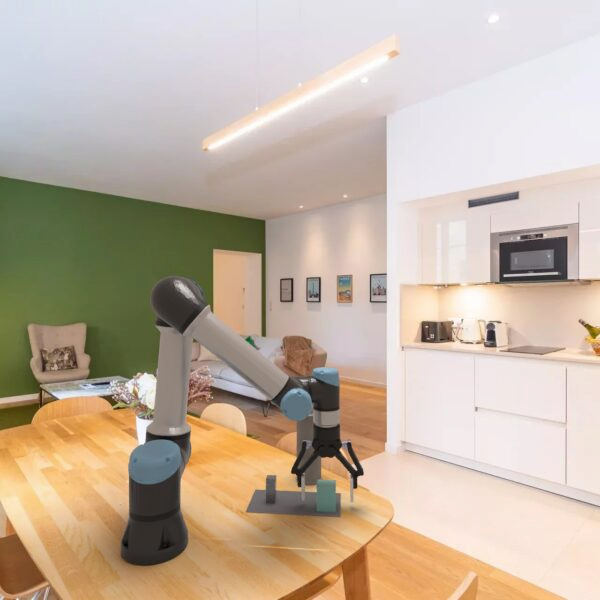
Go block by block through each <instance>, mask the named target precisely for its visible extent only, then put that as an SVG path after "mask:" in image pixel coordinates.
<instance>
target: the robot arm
mask: <svg viewBox="0 0 600 600" xmlns="http://www.w3.org/2000/svg"><path fill="white" fill-rule="evenodd" d="M149 298H150V299H149V302H150V307H151V310H152V311H153V312H154V314H155V328H156V329H157V330H158V331H159V332H160V337H159V351H158V360H157V361H158V362H157V371H156V383H155V393H154V395H155V397H154V407H153V418H152V422H150V423H149V424H148V425H147V426H146V429H145V439H144V440H145V441H144V443H143V444H139V445H137V446H136V447H135V448H134V449H132V451H131V453H130V455H129V461H128V465H127V467H128V468H127V471H128V516H129V517H128V519H127V523H126V524H125V525H126V526H125V529H124V531H123V535H122V538H121V541H120V554H121V557H122V558H123V559H124V560H125V561H126V562H128V563H130V564H132V565H133V564H135V565H142V566H145V565H155V564H159V563H164V562H166V561H169V560H171V559H173V558H175V557H176V556H178V555H179V554H181V553H182V552H183V551H184V550H185V549H186V547H188V546H187V545H188V543H189V531H188V528H187V527H188V526H187V525H186V524H187V523H186V521H185V519H184V516H183V512H182V510H181V508H182V507H181V498H182V497H181V496H182V495H181V490H182V489H181V480H182V477H183V474H184V471H185V469H186V467H187V464H188V463H189V460H190V458H191V454H192V443H191V434H192V433H191V432H192V431H191V430H192V427H191V425H190V424H189V423H188V422H187V414H188V413H187V412H188V402H189V390H190V379H191V378H190V377H191V368H192V367H191V366H192V357H193V356H192V355H193V343H194V340H195V341H197V342H198V344H200V345H201V346H202V347H204V349H206V350H208V351H209V352H210V353H211V354H212V355H214V356H215V357H216V358H218V360H220V361H221V362H222V363H223V364H225V365H226V366H227V367H228V368H229V369H231V370H232V371H233V372H234V373H235V374H237V375H238V376H239V377H241V378H242V379H243V380H244V381H245V382H247V383H248V384H250V386H252V387H253V388H254V389H255V390H257V392H259V393H260V394H261V395H263V396H264V398H266V399H268V400H269V401H270V403H271V404H272V405H275V406H276V407H277V408H278V409H279V410H280V411H281V413H282V415H283V416H284V417H286V419H288V420H289V421H294V422H297V421H300V420H303V419H305V418H306V417H307V416H308V415H309V414H310V412H311V409H312V403H313V422H314V423H315V424H314V425H313V441H307V439H304V440H303V443H302V448H301V450H300V452H299V454H298V456H297V455H296V459H295V461H294V463H293V465H292V466H291V470H290V473H291V474H292V475H295V476H296V481H297V480H298V482H297V488H301V492H302V500H304V499H305V492H306V485H305V473H304V472H305V471H306V470H307V468H308V467H309V466H310V465H311V464H312V462H313V461H314V460H315V459H316V458H317V457H318V456H320V457H321V459H324V458H329V459H333V458H334V457H335V458H336V459H337V460H338V461H339V462H340V463H341V464H342V465H343V467H344V468H345V469H346V470H347V472H348V473H349V475H350V476H349V478H350V481H349V483H350V485H349V486H350V487H349V488H350V496H349V497H350V503H354V490H357V489H358V478H359V477H360V476H361V477H362V476H364V468H363V466H362V464H361V462H360V461H359V458H358V457H357V455H356V453H355V451H354V448H353V446H352V445H353V444H352V440H351V439H346V441H345V440H344V441H342V440H341V425H340V422H341V407H340V406H341V405H340V403H341V401H340V399H341V398H340V396H341V395H340V393H341V392H340V390H341V389H340V388H341V385H340V375H339V374H340V373H339V370H338V369H337V368H335V367H329V366H328V367H327V366H324V367H323V366H320V367H316V368H314V369H313V370H312V373H311V375H305V376H289V375H288V374H286V373H285V372H284V371H283V370H282V369H280V368H279V367H278V366H277V365H276V364H275V363H274V362H272V361H271V360H270V359H268V358H267V357H266V356H265V355H264V354H263V353H262V352H261V351H259V350H258V349H257V348H255V346H253V345H252V344H250V343H249V342H248V341H247V340H246V339H245V338H243V336H241V335H240V334H239V333H237V332H236V331H235V330H234V329H233V328H231V327H230V326H229V325H228V324H226V323H225V322H224V321H223V320H222V319H220V318H219V317H218V316H217V315H216V314H214V313H213V312H212V310H211V305H210V304H209V303H208V302H207V301H205V295H204V292H203V289H202V288H201V286H200V285H199V284H198V283H197V282H196V281H194V280H192V279H191V278H187V277H183V276H178V275H170V276H166V277H163V278H162V279H160V280H158V281H157V282H156V283H155V284H154V286H153V287H152V289H151V291H150V295H149ZM310 446H312V447H313V448H314V452H313V453H312V454H311V456H310V457H309V458H308V459H307V460H306V461H305V463H304V464H303V465H302V466H301V467H300V469H297V468H298V466H299V464H300V462H301V460H302V458H303V456H304V453H305V451H306V449H308V448H309V447H310ZM341 448H344V449H345V450H346V451H347V452H348V454H349V456H350V459H351V460H352V462H353V464H354V466H353V465H352V463H350V462H349V460H348V459H347V458H346V457H345V455H343V453H342V452H341V451H340V450H341ZM355 468H356V469H355Z"/></svg>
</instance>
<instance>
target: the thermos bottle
mask: <svg viewBox="0 0 600 600" xmlns="http://www.w3.org/2000/svg"><path fill="white" fill-rule="evenodd" d="M314 424H315V423H314V422H313V403H312V409H311V412H310V414H309V415H308V416H307V417H306V418H305V419H303V420H300V421H296V457H297V456H298V454H299V452H300V450H301V448H302V443H303V440H304V439H307V441H313V425H314ZM313 452H314V448H313V447H312V446H310V447H309V448H308V449H306V451H305V453H304V456H303V458H302V460H301V462H300V464H299V466H298V468H297V469H300V467H301V466H302V465H303V464H304V463H305V461H306V460H307V459H308V458H309V457H310V456H311V454H312V453H313ZM304 473H305V486H306V487H307V486H311V487H312V486H317V481H318V479H319V480H322V458H321V457H320V456H318V457H317V458H316V459H315V460H314V461H313V462H312V464H311V465H310V466H309V467H308V468H307V470H306V471H305V472H304ZM296 483H298V480H297V479H296Z"/></svg>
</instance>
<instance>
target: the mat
mask: <svg viewBox="0 0 600 600" xmlns="http://www.w3.org/2000/svg"><path fill="white" fill-rule="evenodd" d="M341 495H342V494H341V492H339V493H338V492H336V512H319V511H317V491H305V499H304V500H302V490H301V491H300V490H299V491H298V490H297V491H295V490H279V489H278V490H277V489H276V502H275V504H274V503H266V489H257V488H256V489H254V491H253V494H252V496H251V499H250V501H249V503H248V506H247V508H246V509H245V513H249V514H251V513H252V514H269V515H270V514H271V515H290V516H307V517H326V518H327V517H329V518H341V517H342V515H341V513H342V512H341V511H342V510H341V506H342V505H341V504H342V502H341V500H342V498H341Z"/></svg>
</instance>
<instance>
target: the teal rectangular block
mask: <svg viewBox="0 0 600 600" xmlns="http://www.w3.org/2000/svg"><path fill="white" fill-rule="evenodd" d="M336 486H337V481H336V480H335V479H321V480H319V479H318V481H317V485H316V492H317V511H319V512H336V493H337V490H336V489H337V487H336Z"/></svg>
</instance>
